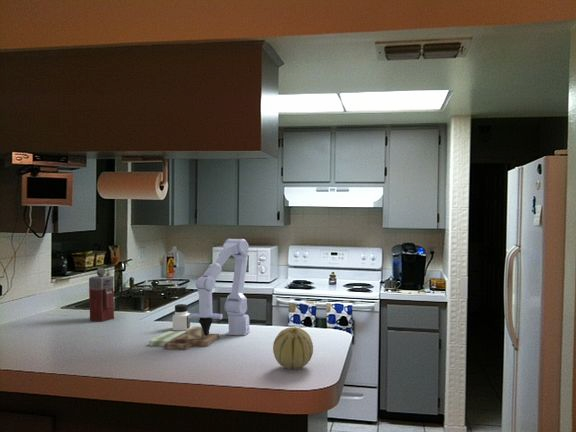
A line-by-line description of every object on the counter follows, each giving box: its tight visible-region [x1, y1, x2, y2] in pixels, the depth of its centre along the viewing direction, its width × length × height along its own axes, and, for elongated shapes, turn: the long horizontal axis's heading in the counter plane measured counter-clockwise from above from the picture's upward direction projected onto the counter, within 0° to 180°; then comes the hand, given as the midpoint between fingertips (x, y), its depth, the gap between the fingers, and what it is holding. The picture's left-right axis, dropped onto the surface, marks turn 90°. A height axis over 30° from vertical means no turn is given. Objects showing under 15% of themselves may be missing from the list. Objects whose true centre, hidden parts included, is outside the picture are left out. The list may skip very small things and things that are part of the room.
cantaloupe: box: [272, 326, 314, 370], centre depth 187 cm, size 15×15×15 cm
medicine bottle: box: [172, 303, 191, 331], centre depth 254 cm, size 7×7×12 cm
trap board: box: [148, 330, 220, 350], centre depth 229 cm, size 26×26×2 cm
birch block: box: [187, 325, 205, 339], centre depth 228 cm, size 6×6×4 cm
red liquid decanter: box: [88, 267, 115, 323], centre depth 281 cm, size 9×11×28 cm
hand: (206, 335), depth 227 cm, fingers closed
